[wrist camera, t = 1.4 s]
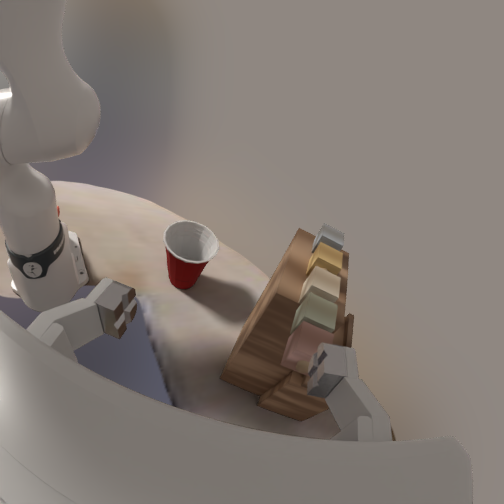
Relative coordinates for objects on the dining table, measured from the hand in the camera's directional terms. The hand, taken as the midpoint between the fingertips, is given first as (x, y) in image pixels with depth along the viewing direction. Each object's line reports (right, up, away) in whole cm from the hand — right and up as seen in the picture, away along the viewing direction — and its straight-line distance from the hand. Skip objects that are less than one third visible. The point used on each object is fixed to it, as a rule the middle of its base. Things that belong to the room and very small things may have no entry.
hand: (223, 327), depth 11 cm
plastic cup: (-14, -3, +47) cm, 49 cm away
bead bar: (+8, -2, +18) cm, 19 cm away
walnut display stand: (+5, -19, +37) cm, 42 cm away
